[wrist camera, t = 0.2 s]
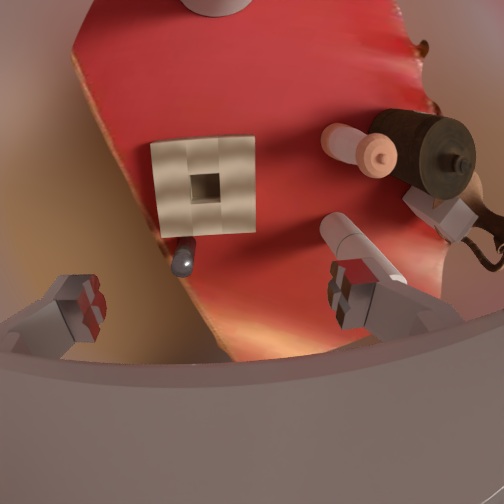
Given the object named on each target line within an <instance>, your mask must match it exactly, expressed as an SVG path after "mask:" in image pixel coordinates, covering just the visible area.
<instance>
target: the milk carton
mask: <svg viewBox="0 0 504 504" xmlns="http://www.w3.org/2000/svg"><path fill="white" fill-rule="evenodd" d="M402 200H403V201H404V202H405V203H406V204H407V205H408V206H409V208H410V209H411V210H412V211H413V212H414V213H415V215H416V216H417V217H419V218H420V219H422V220H423V221H424V222H426V223H427V224H428V225H430V226H431V227H432V228H434V229H435V226H436V227H437V229H438V230H439V231H440V232H441V234H442V235H443V236H444V237H445V238H447V239H448V240H449V241H451V242H452V243H454V242H455V241H456V242H457V243H459V242H460V241H461V240H462V239H463V237H465V236H466V235H467V234H468V233H469V231H470V228H471V227H472V225H473V224H474V223H475V221H476V220H477V218H478V216H477V215H476V214H475V213H474V212H473V211H472V210H471V209H470V208H469V207H468V206H467V205H466V204H465V203H464V202H463V201H462V200H461V199H460V198H458V197H455V198H453V199H449V200H445V201H444V202H443V203H442V204H441V205H439V206H438V207H436V208H435V209H433V202H434V197H432V196H430V195H428V194H427V193H425V192H424V191H422V190H420V189H418V188H416V187H414V186H411V188H410V189H409V190H408V191H407V193H406V194H405V195H404V196H403V198H402ZM434 225H435V226H434ZM435 230H436V229H435Z"/></svg>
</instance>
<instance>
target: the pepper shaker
mask: <svg viewBox="0 0 504 504" xmlns="http://www.w3.org/2000/svg"><path fill="white" fill-rule="evenodd" d="M321 146H322V149H323V150H324V152H325V153H326V154H327V155H329V156H330V157H332V158H334V159H336V160H339V161H343V162H346V163H348V164H355V165H358V167H359V169H360V171H361V172H362V173H363V174H364V175H366V176H368V177H370V178H382V177H385V176H387V175H388V174H390V173H391V171H392V170H393V169H394V167H395V165H396V162H397V151H396V147H395V145H394V143H393V142H392V141H391V140H390V139H389V138H388V137H387V136H385V135H383V134H379V133H373V134H369V135H366V134H365V133H363V132H362V131H360V130H358V129H356V128H353V127H351V126H349V125H346V124H341V123H334V124H330V125H329V126H327V127H326V128H325V129H324V130H323V132H322V135H321Z"/></svg>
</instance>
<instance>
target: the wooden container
mask: <svg viewBox="0 0 504 504" xmlns="http://www.w3.org/2000/svg"><path fill="white" fill-rule="evenodd" d="M373 133H379V134H383V135H385V136H387V137H388V138H389V139H390V140H391V141H392V142H393V143H394V145H395V147H396V151H397V162H396V165H395V167H394V169H393V170H392V171H391V173H390V175H392V176H393V177H395V178H397V179H399V180H401V181H403V182H405V183H408V184H410V185H412V186H414V187H416V188H418V189H420V190H422V191H424V192H425V193H427V194H428V195H430V196H432V197H434V198H437V199H440V200H449V199H453V198H455V197H457V196H458V195H459V194H461V193H462V192H463V191H464V190H465V188H466V187H467V186H468V184H469V182H470V180H471V178H472V175H473V172H474V169H475V163H476V151H475V145H474V141H473V138H472V136H471V134H470V132H469V130H468V129H467V128H466V127H465V126H464V125H463V124H462V123H461V122H459V121H457V120H455V119H452V118H448V117H442V116H438V115H433V114H428V113H423V112H418V111H411V110H403V109H389V110H386V111H384V112H382V113H380V114H379V115H378V116H377V117H376V118H375V120H374V121H373V123H372V125H371V127H370V129H369V134H373ZM369 134H368V135H369Z"/></svg>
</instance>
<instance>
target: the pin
mask: <svg viewBox="0 0 504 504" xmlns="http://www.w3.org/2000/svg"><path fill="white" fill-rule="evenodd" d="M195 249H196V241H195V239H194V238H193V237H192V236H182V237H180V238H179V239H178V242H177V245H176V249H175V253H174V256H173V260H172V264H171V271H172V272H173V274H174V275H176V276H177V277H181V278H184V277H187V276H189V275H190V274H191V273H192V270H193V263H194V256H195Z"/></svg>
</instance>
